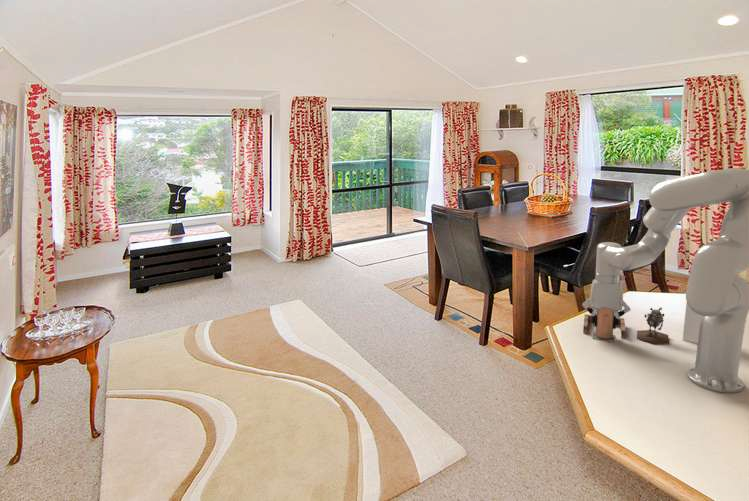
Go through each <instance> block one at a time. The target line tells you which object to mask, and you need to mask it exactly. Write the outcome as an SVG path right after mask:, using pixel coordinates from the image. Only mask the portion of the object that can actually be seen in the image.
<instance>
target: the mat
mask: <svg viewBox="0 0 749 501" xmlns="http://www.w3.org/2000/svg"><path fill="white" fill-rule="evenodd" d="M592 339H593V340H599V341H607V342H614V341H615V342H616V335H615V334H613V337H612V338H608V339H607V338H600V337H598V336H596V332H592Z"/></svg>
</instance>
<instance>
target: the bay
mask: <svg viewBox="0 0 749 501" xmlns="http://www.w3.org/2000/svg"><path fill="white" fill-rule="evenodd" d="M588 324H593V323H592V314H584V317H583V328H582V329H583V330H582V331H583V332H582V333H583V334H588ZM617 327H619V328H620V339H626V334H627V333H626V332H627V330H626V323H625V318H624V317H623V318H621V317H620V318H619V319H618V326H617Z"/></svg>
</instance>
